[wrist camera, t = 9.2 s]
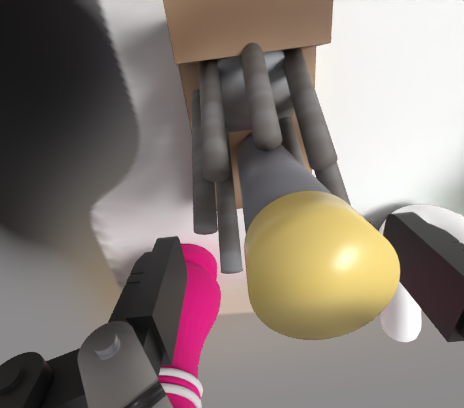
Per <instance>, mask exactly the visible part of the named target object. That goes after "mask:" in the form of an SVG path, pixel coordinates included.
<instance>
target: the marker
mask: <svg viewBox="0 0 464 408" xmlns="http://www.w3.org/2000/svg"><path fill="white" fill-rule="evenodd" d="M237 164H238V172H239V181H240V189H241V197H242V206H243V214H244V222H245V230H246V237H245V243H244V252H245V263H246V273H247V283H248V293H249V299H250V303H251V305H252V308H253V310H254V312H255V313H256V315H257V316H258V317H259V318H260V320H261V321H262V322H263V323H264V324H266V325H267V326H268V327H269V328H271V329H272V330H274V331H276V332H278V333H280V334H282V335H285V336H288V337H292V338H296V339H303V340H322V339H330V338H334V337H339V336H342V335H345V334H348V333H350V332H353V331H355V330H357V329H359V328H361V327H363V326H365V325H366V324H368V323H369V322H370V321H372V320H373V319H374V318H375V317H377V316H378V315H379V314H380V313H381V312H382V311H383V310H384V309H385V308H386V306H387V305H388V304H389V303H390V301H391V299H392V298H393V296H394V294H395V292H396V289H397V287H398V283H399V279H400V263H399V260H398V256H397V254H396V252H395V250H394V248H393V246H392V245H391V244H390V242H389V241H388V240H387V239H386V238H385V237H384V236H383V235H382V234H381V233H380V232H378V231H377V230H376V229H375V228H374V227H373V226H372V225H371V224H370V223H369V222H368V221H366V220H365V219H364V218H363V217H362V216H361V215H360V214H359V213H358V212H357V211H356V210H355V209H353V208H352V207H351V206H350V205H349V204H348V203H347V202H345V201H344V200H343V199H341V198H339V197H337V196H335V195H333V194H332V193H331V192H330V191H329V190H328V189H327V188H326V187H325V186H324V185H323V184H322V183H320V182H319V181H318V180H317V179H316V178H315V177H314V176H313V175H312V174H311V173H310V172H309V171H308V170H307V169H306V168H305V167H304V166H303V165H302V164H301V163H300V162H299V161H298V160H297V159H296V158H295V157H294V156H293V155H292V154H291V153H290V152H288V151H287V150H286V149H285V148H284V147H283V146H282V145H281V144H280V145H279V146H278V147H277V148H275V149H273V150H269V151H261V150H258V149H257V148H255V146H254V141H253V136H250V137H249V138H247V139H246V140H245V141H244V142H243V143H242V144H241V146H240V147H239V150H238V153H237Z"/></svg>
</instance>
